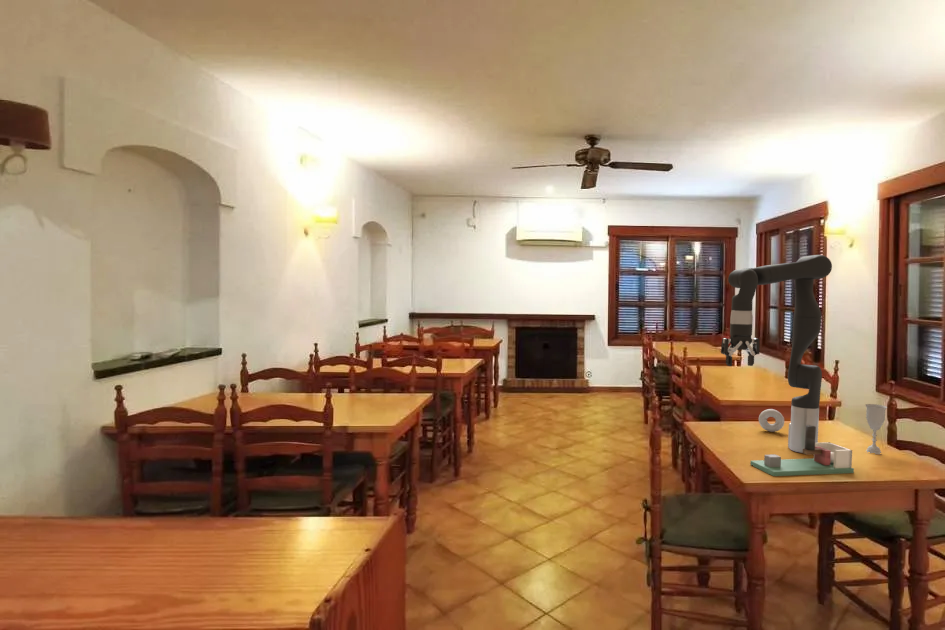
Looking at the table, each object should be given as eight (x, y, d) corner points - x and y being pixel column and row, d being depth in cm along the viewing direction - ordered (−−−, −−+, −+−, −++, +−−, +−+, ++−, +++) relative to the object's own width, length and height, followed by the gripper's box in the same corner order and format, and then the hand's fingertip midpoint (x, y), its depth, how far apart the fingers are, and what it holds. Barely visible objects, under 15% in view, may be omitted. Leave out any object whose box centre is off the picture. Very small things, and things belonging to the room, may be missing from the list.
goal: (813, 459, 201) (814, 442, 201) (828, 458, 202) (829, 442, 202) (835, 468, 192) (836, 450, 191) (851, 467, 192) (852, 450, 192)
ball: (829, 463, 199) (820, 458, 198) (834, 453, 199) (825, 448, 198) (838, 467, 195) (829, 462, 194) (843, 456, 195) (834, 451, 195)
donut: (757, 430, 247) (758, 408, 247) (758, 429, 250) (759, 407, 250) (783, 434, 242) (784, 411, 242) (784, 432, 245) (785, 409, 245)
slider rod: (798, 461, 198) (800, 424, 197) (819, 460, 199) (820, 424, 198) (809, 465, 193) (810, 428, 192) (830, 465, 194) (831, 427, 193)
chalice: (888, 455, 212) (891, 408, 211) (868, 454, 214) (870, 407, 213) (878, 450, 219) (881, 404, 218) (859, 449, 221) (861, 403, 220)
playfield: (750, 464, 199) (750, 451, 199) (826, 462, 203) (827, 448, 203) (773, 476, 187) (773, 461, 187) (853, 472, 192) (854, 458, 191)
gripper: (752, 322, 216) (750, 364, 216) (717, 322, 213) (716, 364, 214) (765, 323, 208) (763, 367, 209) (729, 323, 206) (728, 367, 207)
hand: (739, 365), depth 212 cm, fingers open, 8 cm apart
